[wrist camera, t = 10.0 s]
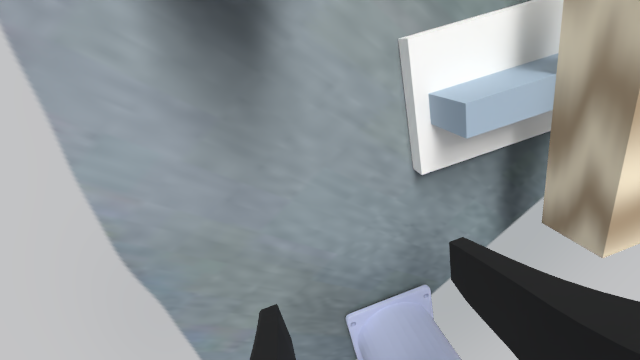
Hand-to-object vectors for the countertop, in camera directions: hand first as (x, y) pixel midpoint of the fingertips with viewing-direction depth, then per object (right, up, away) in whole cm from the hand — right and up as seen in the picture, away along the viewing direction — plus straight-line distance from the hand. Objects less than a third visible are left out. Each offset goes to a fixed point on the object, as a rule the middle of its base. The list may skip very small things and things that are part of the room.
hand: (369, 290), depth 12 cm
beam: (+13, +10, +5) cm, 17 cm away
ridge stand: (+11, +12, +10) cm, 19 cm away
